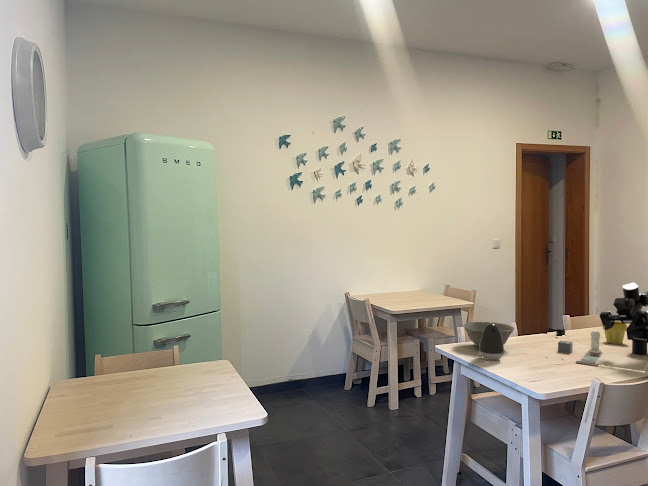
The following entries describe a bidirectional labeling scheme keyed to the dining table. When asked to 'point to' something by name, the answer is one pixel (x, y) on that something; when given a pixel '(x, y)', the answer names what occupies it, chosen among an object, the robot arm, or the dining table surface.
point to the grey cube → (565, 346)
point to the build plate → (560, 332)
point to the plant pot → (615, 333)
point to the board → (591, 359)
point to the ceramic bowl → (477, 328)
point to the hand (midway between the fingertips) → (616, 329)
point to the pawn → (595, 342)
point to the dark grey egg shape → (491, 343)
